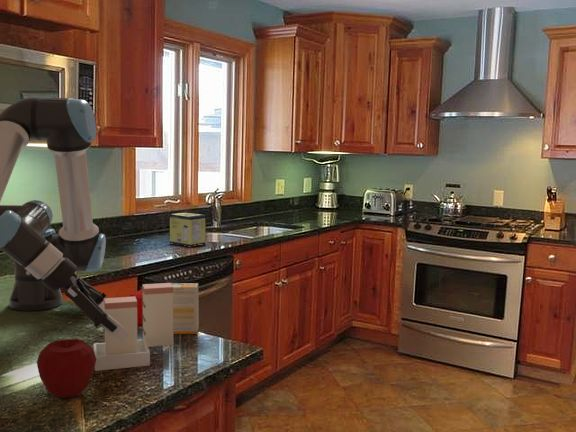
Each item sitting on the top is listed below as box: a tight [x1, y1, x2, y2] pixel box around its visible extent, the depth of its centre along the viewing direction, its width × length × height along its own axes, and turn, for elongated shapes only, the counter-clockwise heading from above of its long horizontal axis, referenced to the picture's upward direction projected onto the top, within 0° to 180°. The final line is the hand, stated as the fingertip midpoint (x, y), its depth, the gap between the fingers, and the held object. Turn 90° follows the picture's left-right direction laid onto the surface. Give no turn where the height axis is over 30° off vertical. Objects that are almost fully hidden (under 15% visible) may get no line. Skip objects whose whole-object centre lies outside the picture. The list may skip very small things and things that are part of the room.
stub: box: [103, 296, 138, 356], centre depth 134 cm, size 4×7×14 cm, turn 110°
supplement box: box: [170, 282, 200, 335], centre depth 156 cm, size 8×5×13 cm, turn 92°
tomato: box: [127, 286, 143, 327], centre depth 163 cm, size 11×13×10 cm
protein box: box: [169, 212, 206, 246], centre depth 292 cm, size 10×16×16 cm
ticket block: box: [141, 282, 174, 348], centre depth 147 cm, size 5×7×15 cm, turn 110°
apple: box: [36, 338, 96, 399], centre depth 115 cm, size 11×11×12 cm
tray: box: [93, 338, 151, 372], centre depth 135 cm, size 10×12×3 cm
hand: (123, 328), depth 135 cm, fingers open, 13 cm apart
